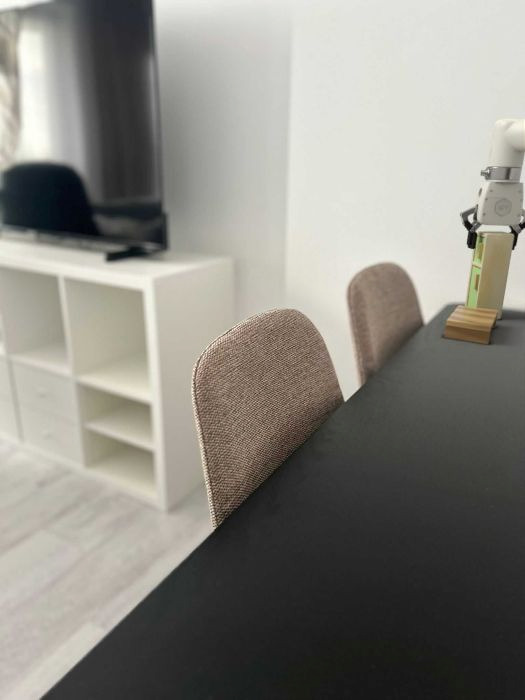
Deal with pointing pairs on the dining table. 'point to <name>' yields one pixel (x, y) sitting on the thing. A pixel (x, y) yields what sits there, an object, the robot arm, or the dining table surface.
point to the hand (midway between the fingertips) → (490, 248)
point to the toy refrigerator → (489, 270)
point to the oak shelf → (471, 324)
